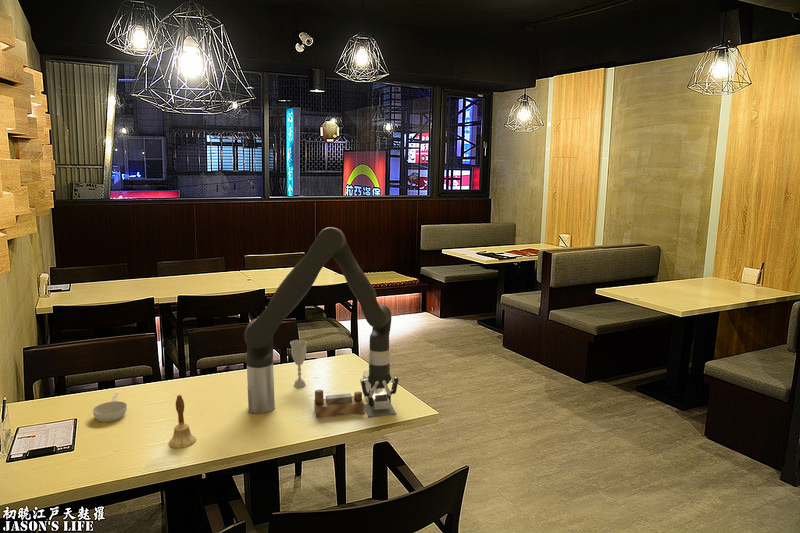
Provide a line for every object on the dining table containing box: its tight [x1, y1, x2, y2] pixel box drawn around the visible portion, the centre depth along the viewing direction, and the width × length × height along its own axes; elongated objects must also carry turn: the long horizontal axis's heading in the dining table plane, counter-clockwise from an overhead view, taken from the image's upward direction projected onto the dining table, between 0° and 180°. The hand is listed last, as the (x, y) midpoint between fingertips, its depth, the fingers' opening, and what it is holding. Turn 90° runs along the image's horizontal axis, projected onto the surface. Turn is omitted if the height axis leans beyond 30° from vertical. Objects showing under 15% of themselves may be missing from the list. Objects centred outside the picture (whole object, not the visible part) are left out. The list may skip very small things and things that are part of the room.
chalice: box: [289, 339, 308, 389], centre depth 232 cm, size 7×7×18 cm
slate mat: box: [364, 402, 397, 418], centre depth 211 cm, size 10×10×1 cm
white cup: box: [361, 369, 383, 402], centre depth 221 cm, size 8×8×10 cm
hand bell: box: [168, 394, 197, 449], centre depth 185 cm, size 8×8×16 cm
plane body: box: [313, 389, 365, 419], centre depth 209 cm, size 17×7×8 cm, turn 104°
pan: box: [92, 392, 128, 423], centre depth 208 cm, size 11×18×4 cm, turn 16°
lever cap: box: [372, 390, 390, 410], centre depth 210 cm, size 9×6×4 cm, turn 14°
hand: (379, 405), depth 210 cm, fingers closed on lever cap, 5 cm apart
